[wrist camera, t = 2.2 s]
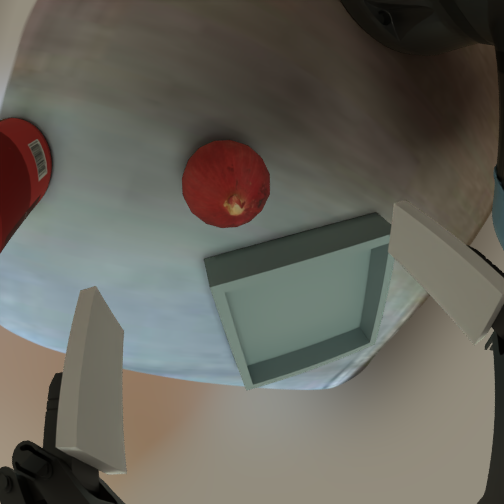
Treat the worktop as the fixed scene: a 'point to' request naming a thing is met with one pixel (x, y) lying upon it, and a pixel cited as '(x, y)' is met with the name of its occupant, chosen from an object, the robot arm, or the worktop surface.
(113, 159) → the worktop surface
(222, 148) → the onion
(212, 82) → the worktop surface
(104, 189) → the worktop surface
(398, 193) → the worktop surface
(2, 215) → the canned food
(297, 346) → the bin
